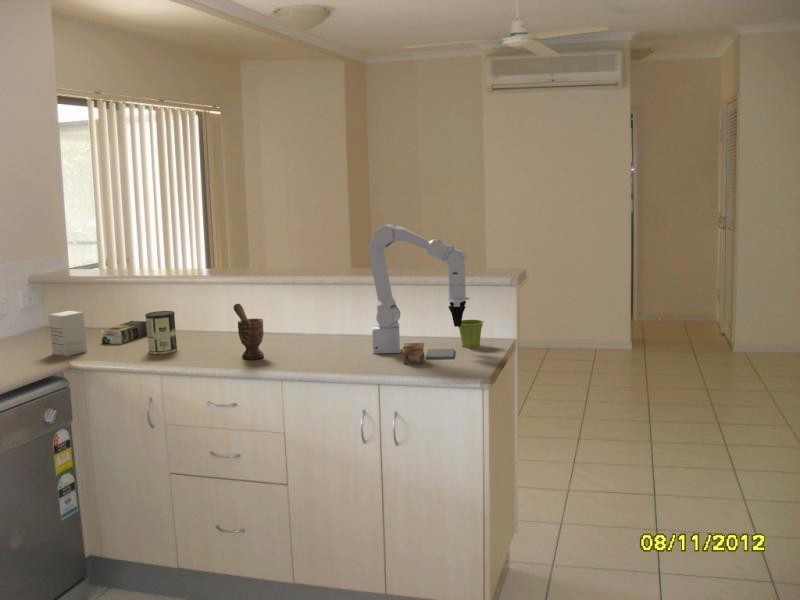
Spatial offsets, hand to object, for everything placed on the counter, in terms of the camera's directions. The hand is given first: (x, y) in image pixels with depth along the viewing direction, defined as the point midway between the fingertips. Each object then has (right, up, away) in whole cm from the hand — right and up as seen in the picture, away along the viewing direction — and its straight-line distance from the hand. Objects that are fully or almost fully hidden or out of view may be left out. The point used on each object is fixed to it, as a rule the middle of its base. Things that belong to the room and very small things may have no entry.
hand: (457, 324), depth 302 cm
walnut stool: (-15, -12, -11) cm, 22 cm away
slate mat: (-6, -10, -1) cm, 12 cm away
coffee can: (-106, -11, +22) cm, 109 cm away
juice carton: (-128, -8, +48) cm, 137 cm away
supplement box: (-141, -11, +25) cm, 144 cm away
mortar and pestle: (-71, -12, +4) cm, 72 cm away
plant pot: (+5, -8, +12) cm, 15 cm away
